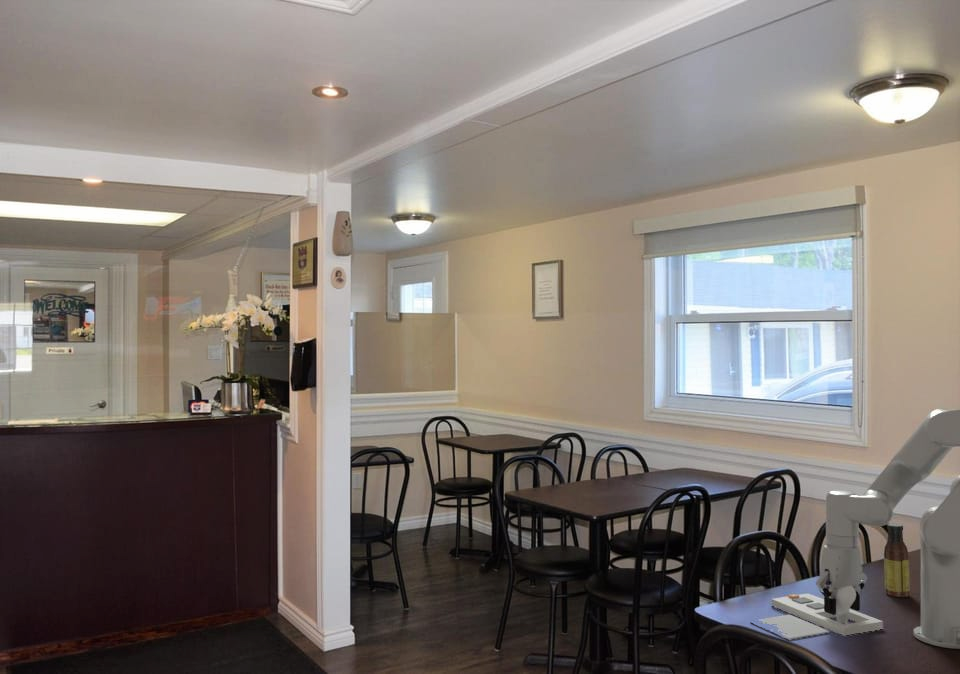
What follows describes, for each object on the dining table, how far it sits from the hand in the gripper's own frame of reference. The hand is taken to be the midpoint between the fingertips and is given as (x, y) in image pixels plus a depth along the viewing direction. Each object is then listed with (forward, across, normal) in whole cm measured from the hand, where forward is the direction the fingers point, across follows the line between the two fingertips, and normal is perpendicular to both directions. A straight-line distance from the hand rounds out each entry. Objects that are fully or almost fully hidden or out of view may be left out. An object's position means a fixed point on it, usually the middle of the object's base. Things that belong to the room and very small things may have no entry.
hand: (841, 610), depth 198 cm
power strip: (+3, 0, -6) cm, 6 cm away
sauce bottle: (+4, -34, -12) cm, 36 cm away
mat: (+3, +14, -3) cm, 15 cm away
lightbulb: (+4, 0, 0) cm, 4 cm away
